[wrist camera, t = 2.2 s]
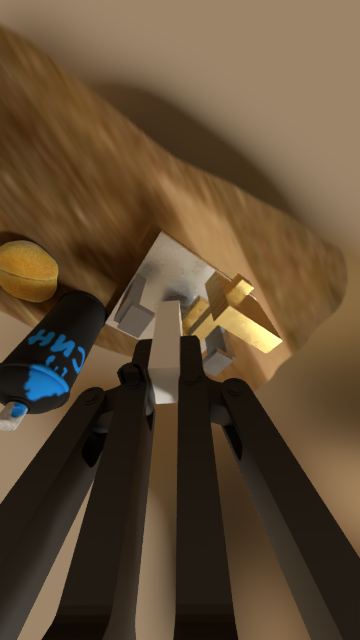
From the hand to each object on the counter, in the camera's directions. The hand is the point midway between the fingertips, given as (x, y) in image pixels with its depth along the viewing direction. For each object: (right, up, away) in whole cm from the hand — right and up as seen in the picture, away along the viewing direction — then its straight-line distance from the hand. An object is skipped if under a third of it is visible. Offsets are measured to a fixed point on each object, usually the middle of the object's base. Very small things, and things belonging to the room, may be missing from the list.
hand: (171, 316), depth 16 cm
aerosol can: (-16, +1, +21) cm, 26 cm away
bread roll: (-22, +7, +16) cm, 28 cm away
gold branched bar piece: (+2, 0, +13) cm, 13 cm away
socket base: (0, +2, +20) cm, 20 cm away
